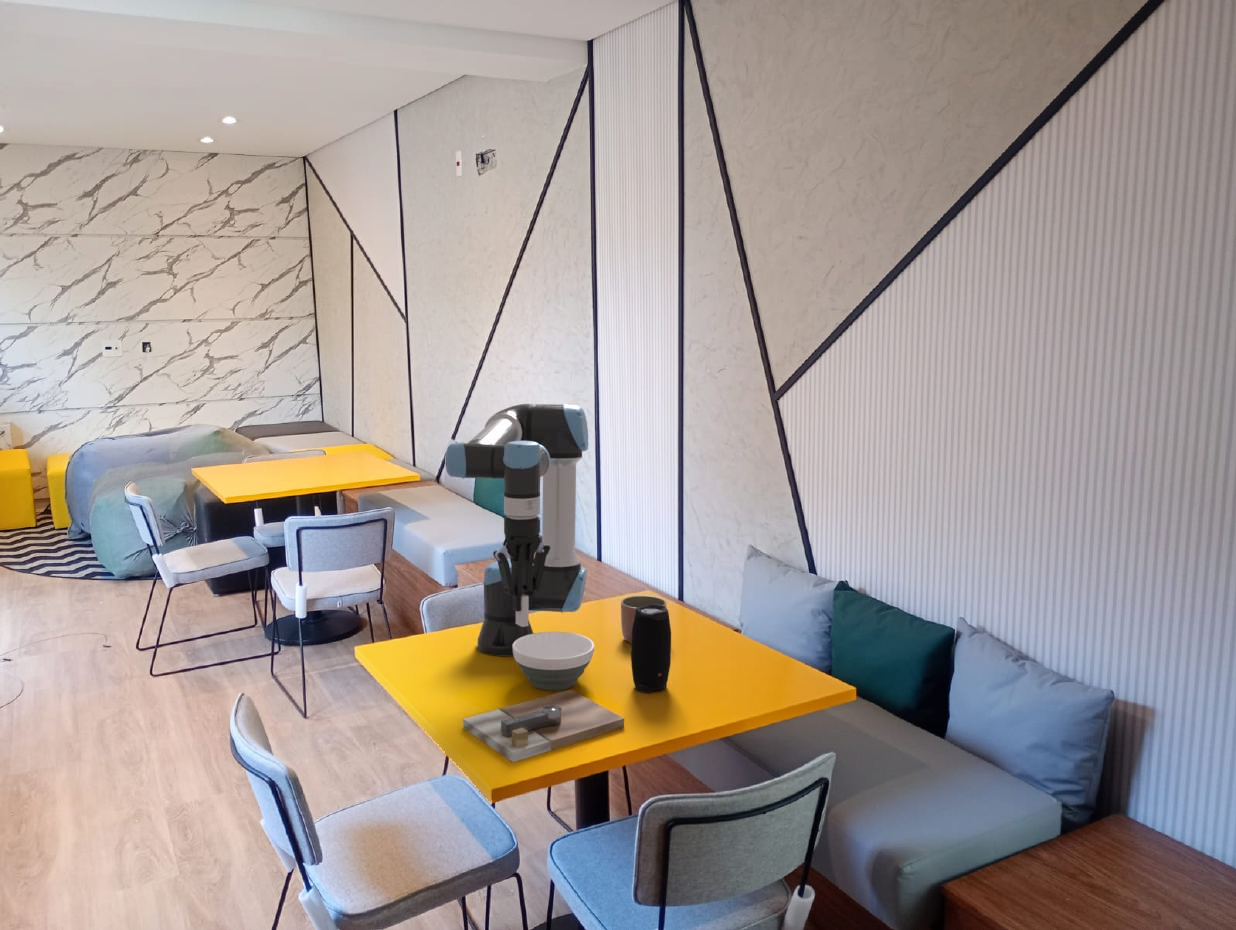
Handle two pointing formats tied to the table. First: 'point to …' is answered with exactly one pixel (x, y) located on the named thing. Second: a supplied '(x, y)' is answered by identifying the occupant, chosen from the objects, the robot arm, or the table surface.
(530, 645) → the bowl
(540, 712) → the door lever handle
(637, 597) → the planter
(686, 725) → the table surface
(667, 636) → the portable speaker
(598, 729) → the board
